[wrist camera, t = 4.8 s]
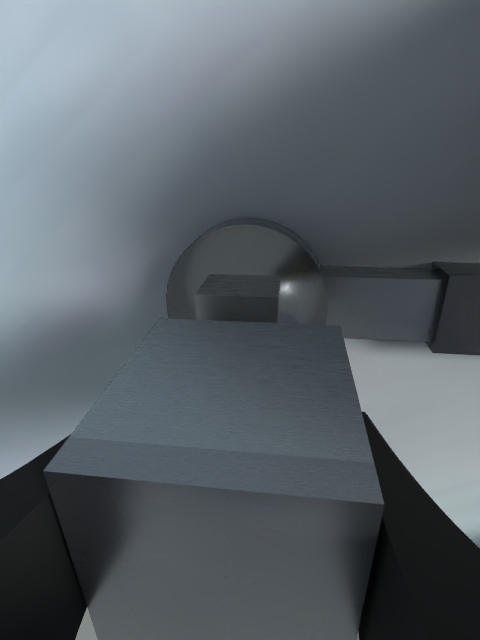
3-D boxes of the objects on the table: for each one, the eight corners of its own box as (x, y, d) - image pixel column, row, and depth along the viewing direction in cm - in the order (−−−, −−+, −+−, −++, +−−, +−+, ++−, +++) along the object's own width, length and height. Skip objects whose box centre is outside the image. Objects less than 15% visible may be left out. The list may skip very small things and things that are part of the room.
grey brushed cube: (340, 325, 11) (384, 504, 6) (325, 464, 13) (346, 686, 8) (160, 318, 12) (43, 471, 6) (175, 451, 14) (100, 646, 8)
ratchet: (660, 221, 15) (801, 248, 11) (593, 375, 17) (683, 443, 13) (173, 217, 17) (134, 237, 13) (184, 352, 20) (155, 404, 16)
